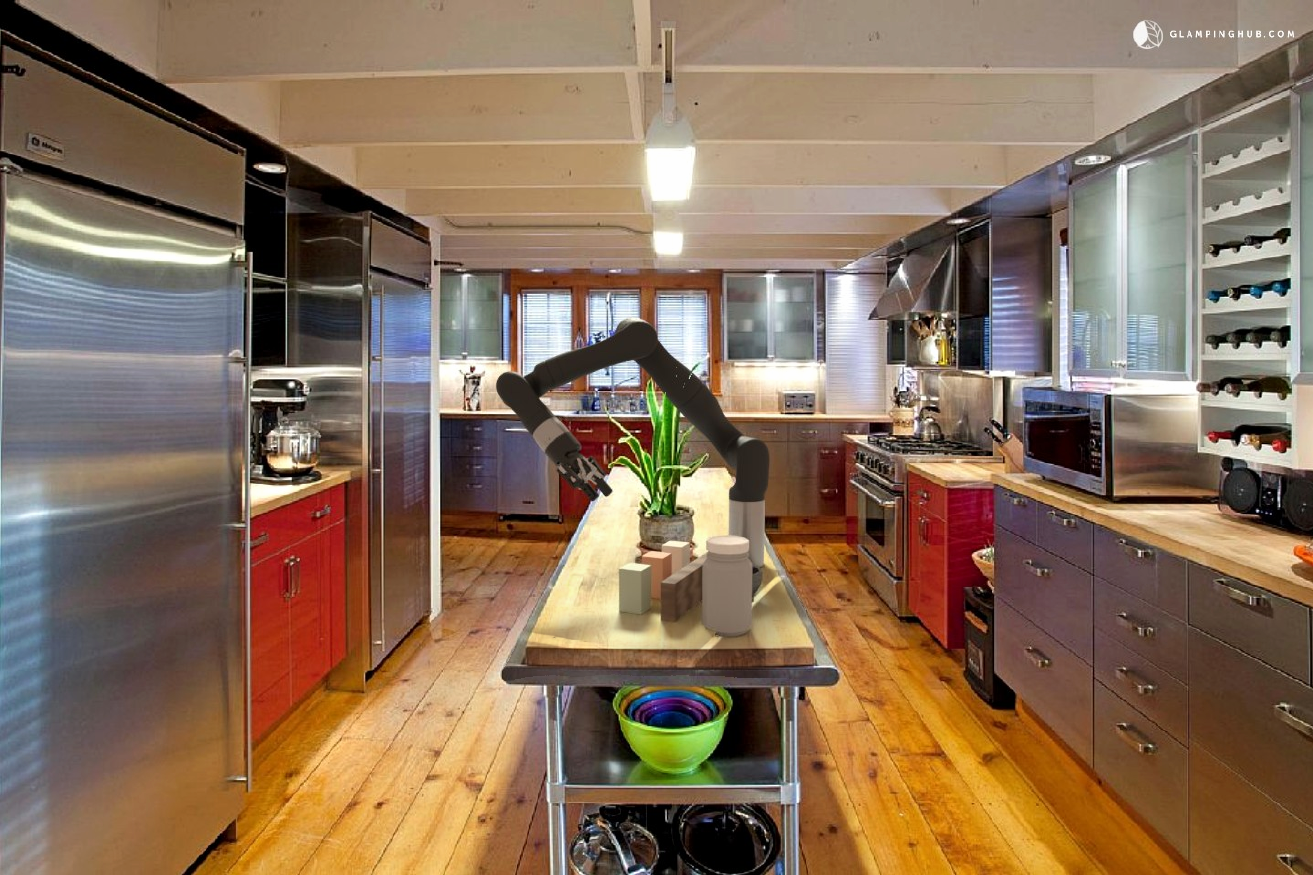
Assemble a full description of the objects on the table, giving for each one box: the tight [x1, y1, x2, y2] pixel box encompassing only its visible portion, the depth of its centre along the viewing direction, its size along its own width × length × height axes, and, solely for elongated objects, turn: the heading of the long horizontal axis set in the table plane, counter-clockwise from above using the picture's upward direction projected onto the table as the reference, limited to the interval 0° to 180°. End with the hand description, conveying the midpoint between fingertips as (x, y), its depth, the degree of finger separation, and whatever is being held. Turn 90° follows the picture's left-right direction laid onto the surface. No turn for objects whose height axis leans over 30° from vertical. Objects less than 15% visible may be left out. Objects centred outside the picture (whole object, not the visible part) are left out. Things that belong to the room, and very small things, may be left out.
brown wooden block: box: [660, 551, 708, 623], centre depth 169 cm, size 30×18×9 cm, turn 156°
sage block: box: [618, 562, 652, 615], centre depth 159 cm, size 5×5×9 cm
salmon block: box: [641, 550, 672, 600], centre depth 169 cm, size 5×5×9 cm
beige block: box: [661, 540, 691, 575], centre depth 179 cm, size 5×5×9 cm
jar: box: [701, 534, 753, 638], centre depth 151 cm, size 10×10×18 cm
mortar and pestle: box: [748, 556, 763, 603], centre depth 169 cm, size 11×9×12 cm
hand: (602, 496), depth 173 cm, fingers open, 6 cm apart
